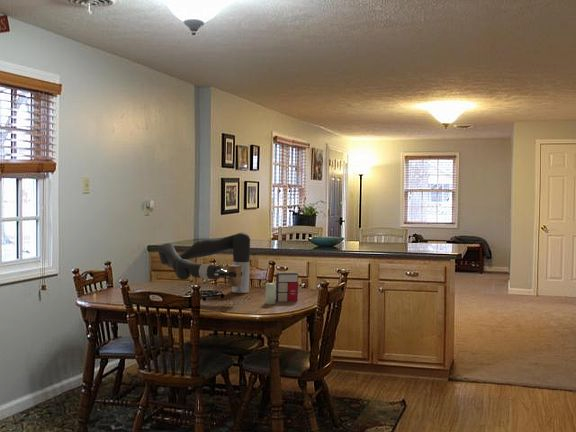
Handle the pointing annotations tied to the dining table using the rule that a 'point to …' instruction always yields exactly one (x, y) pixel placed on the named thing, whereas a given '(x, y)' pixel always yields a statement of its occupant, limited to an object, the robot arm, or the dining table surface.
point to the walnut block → (234, 280)
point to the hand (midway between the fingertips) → (238, 274)
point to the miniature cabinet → (286, 287)
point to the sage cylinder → (270, 293)
